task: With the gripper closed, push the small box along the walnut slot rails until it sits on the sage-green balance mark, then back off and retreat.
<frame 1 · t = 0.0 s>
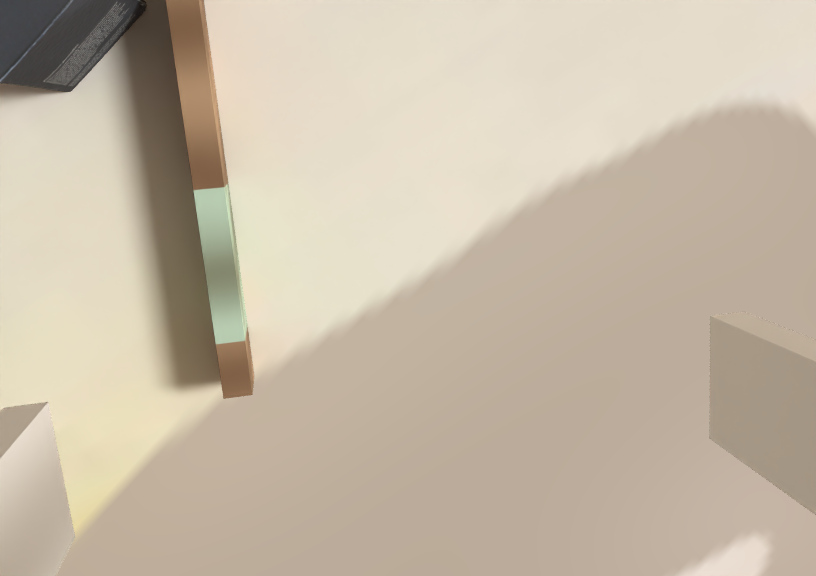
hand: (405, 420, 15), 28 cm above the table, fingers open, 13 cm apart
beam slot: (53, 150, 39), on the table
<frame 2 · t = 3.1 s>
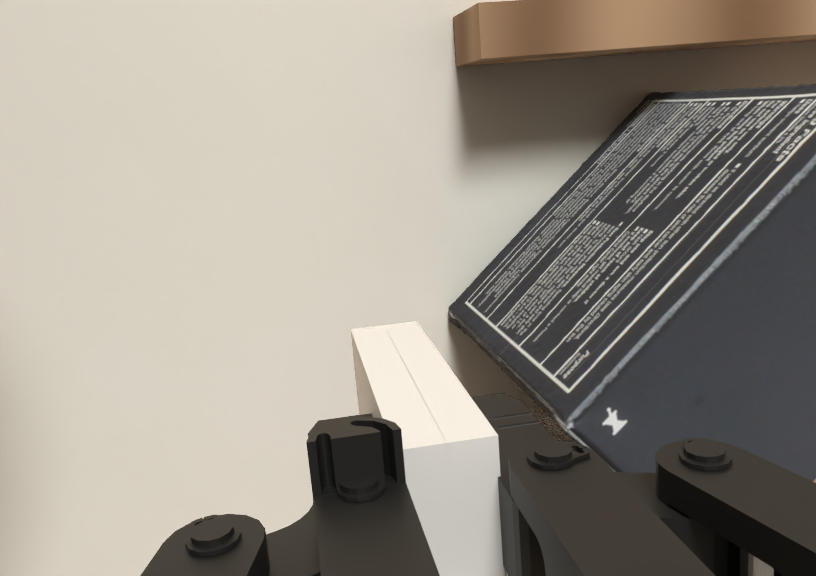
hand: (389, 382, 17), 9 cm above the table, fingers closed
small box: (602, 260, 27), on the table
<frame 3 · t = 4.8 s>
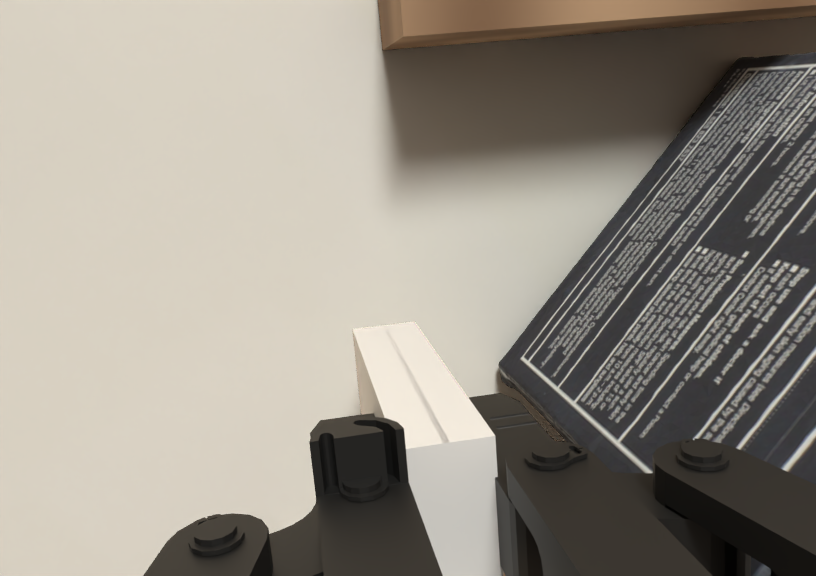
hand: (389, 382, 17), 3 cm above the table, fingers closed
small box: (688, 279, 21), on the table, touching hand
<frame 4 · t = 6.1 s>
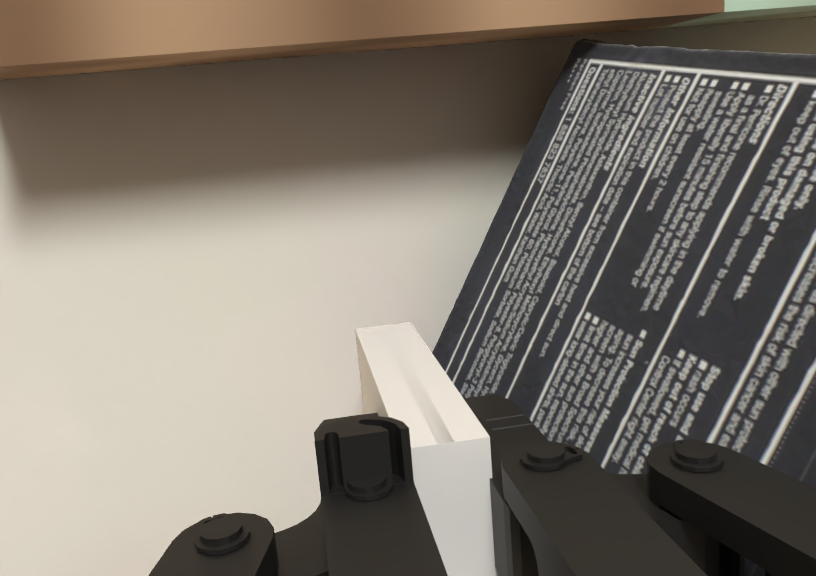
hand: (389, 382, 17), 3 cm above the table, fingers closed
beam slot: (573, 306, 20), on the table
small box: (567, 280, 19), point 1 cm above the table, touching gripper, hand
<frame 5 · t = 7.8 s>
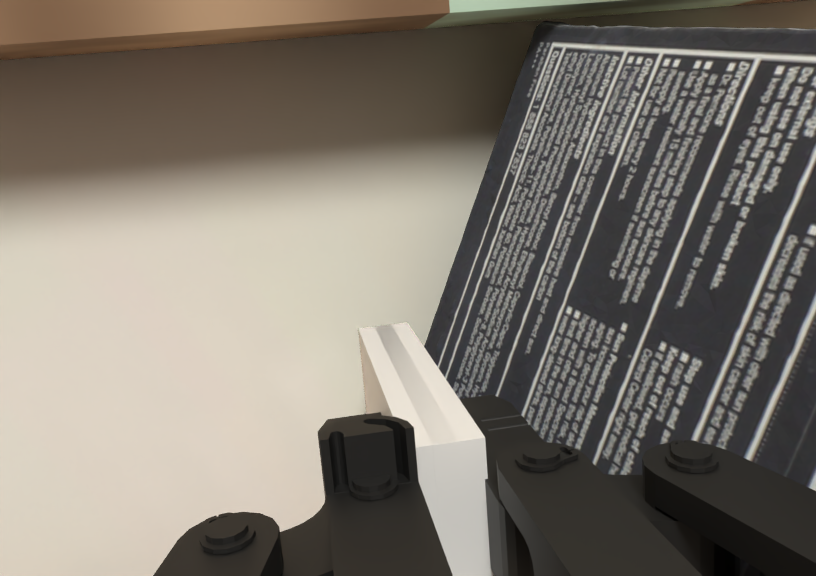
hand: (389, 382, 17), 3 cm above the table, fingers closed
beam slot: (350, 319, 19), on the table
small box: (553, 264, 19), point 1 cm above the table, touching gripper, hand
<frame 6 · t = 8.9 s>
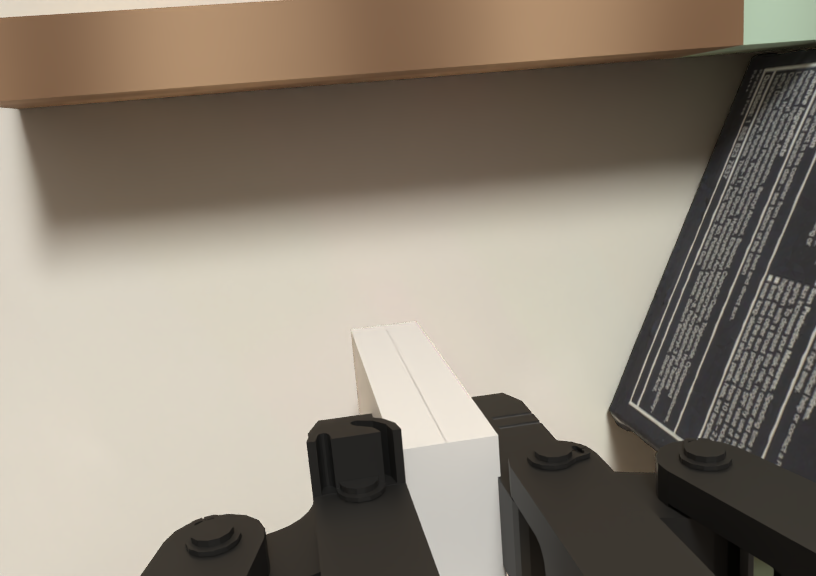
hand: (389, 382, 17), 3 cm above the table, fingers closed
beam slot: (590, 332, 20), on the table
small box: (766, 272, 21), on the table
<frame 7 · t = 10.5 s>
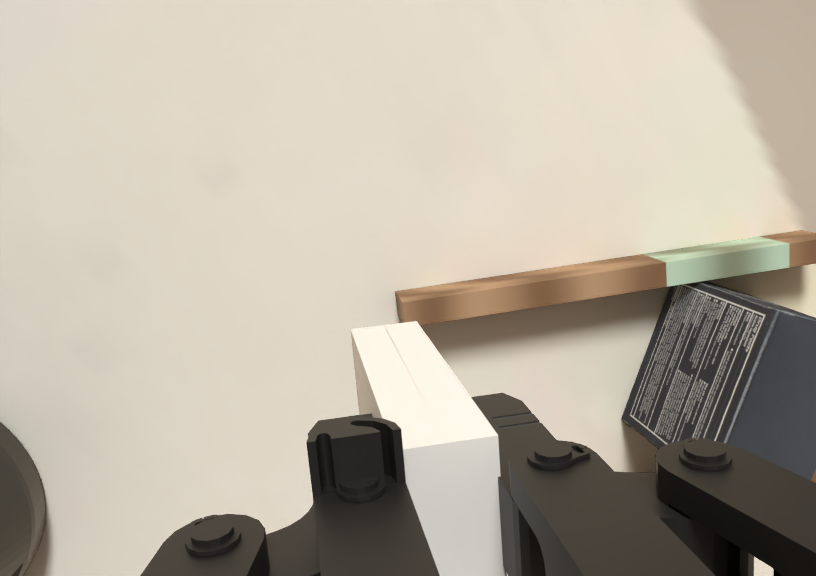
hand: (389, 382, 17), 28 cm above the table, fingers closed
beam slot: (613, 386, 49), on the table
small box: (686, 357, 50), on the table
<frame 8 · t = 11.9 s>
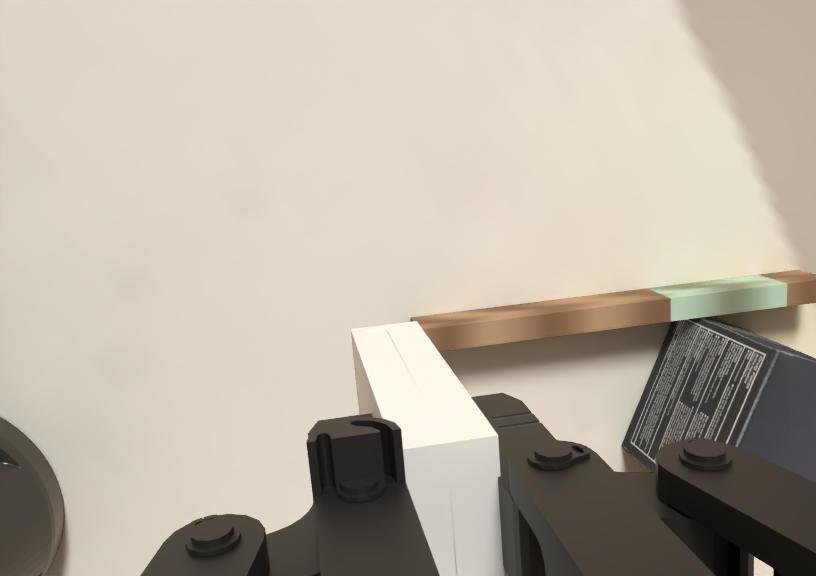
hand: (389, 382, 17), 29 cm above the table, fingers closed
beam slot: (615, 413, 51), on the table
small box: (685, 388, 52), on the table
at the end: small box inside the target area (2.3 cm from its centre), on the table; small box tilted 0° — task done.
